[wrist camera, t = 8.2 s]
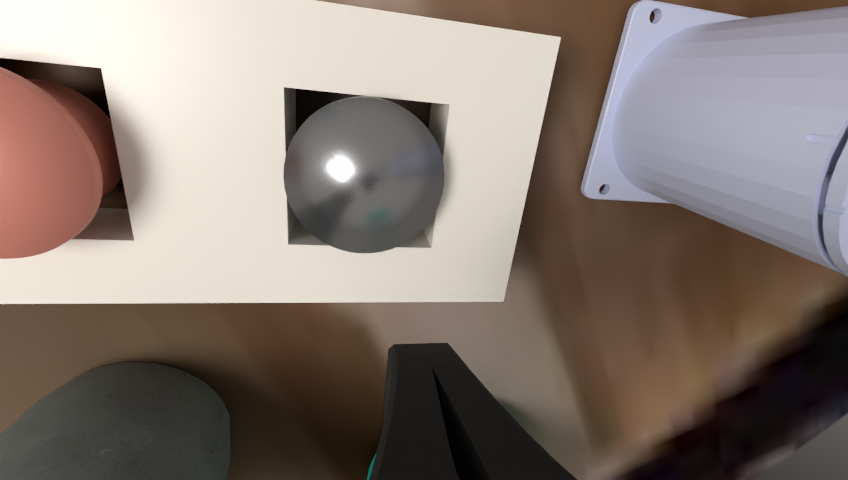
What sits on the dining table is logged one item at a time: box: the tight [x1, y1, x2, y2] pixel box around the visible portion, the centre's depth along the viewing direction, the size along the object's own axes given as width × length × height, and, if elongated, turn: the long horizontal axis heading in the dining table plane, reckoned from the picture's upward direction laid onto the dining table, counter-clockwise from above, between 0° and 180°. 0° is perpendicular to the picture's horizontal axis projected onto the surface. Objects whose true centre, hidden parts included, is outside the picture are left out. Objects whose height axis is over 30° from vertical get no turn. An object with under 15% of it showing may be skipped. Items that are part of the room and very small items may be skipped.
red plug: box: [0, 67, 122, 259], centre depth 11 cm, size 5×5×3 cm
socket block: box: [0, 0, 561, 304], centre depth 14 cm, size 22×10×3 cm, turn 83°
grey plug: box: [283, 96, 445, 253], centre depth 14 cm, size 5×5×3 cm
